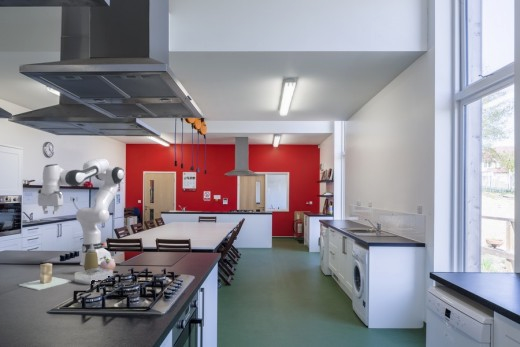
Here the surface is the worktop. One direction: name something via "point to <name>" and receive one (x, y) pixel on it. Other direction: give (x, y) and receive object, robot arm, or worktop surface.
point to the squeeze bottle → (91, 258)
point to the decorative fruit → (107, 264)
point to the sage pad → (39, 286)
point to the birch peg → (45, 273)
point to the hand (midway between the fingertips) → (50, 213)
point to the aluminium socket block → (92, 275)
